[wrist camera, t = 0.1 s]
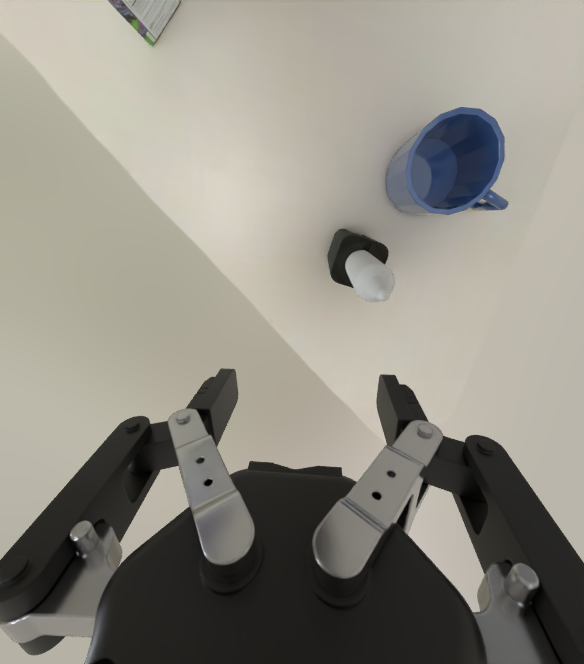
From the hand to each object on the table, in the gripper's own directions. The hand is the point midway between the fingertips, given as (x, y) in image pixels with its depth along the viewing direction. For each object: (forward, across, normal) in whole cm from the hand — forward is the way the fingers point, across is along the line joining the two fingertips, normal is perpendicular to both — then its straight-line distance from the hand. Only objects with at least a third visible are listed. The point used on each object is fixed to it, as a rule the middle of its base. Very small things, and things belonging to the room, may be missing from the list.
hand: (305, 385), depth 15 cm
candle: (+30, -5, -4) cm, 30 cm away
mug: (+29, -15, -12) cm, 35 cm away
